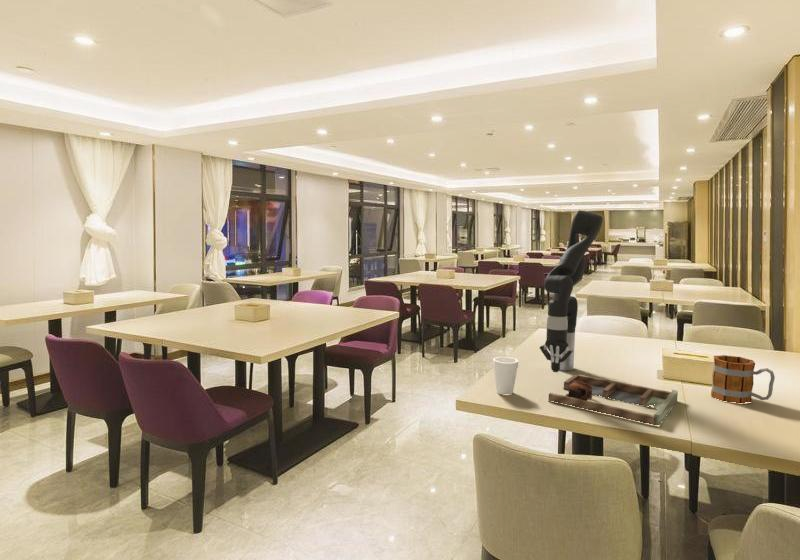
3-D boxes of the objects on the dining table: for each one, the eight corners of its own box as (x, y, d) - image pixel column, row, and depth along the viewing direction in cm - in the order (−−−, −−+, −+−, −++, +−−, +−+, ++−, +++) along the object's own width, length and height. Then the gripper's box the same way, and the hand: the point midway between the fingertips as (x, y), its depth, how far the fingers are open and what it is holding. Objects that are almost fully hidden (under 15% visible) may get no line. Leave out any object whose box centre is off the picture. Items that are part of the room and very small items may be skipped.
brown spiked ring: (558, 398, 185) (565, 378, 187) (579, 408, 186) (586, 387, 188) (577, 401, 173) (584, 379, 175) (599, 411, 175) (605, 389, 177)
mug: (703, 397, 186) (706, 358, 184) (717, 390, 194) (720, 353, 193) (766, 412, 170) (769, 370, 169) (777, 404, 179) (781, 364, 177)
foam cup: (502, 398, 183) (503, 364, 182) (487, 390, 191) (488, 358, 190) (522, 394, 187) (523, 361, 186) (506, 387, 196) (507, 355, 194)
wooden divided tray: (546, 401, 180) (546, 390, 180) (575, 380, 205) (576, 371, 204) (658, 427, 157) (659, 415, 156) (677, 401, 181) (677, 390, 181)
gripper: (577, 328, 184) (576, 372, 186) (544, 323, 193) (542, 366, 194) (571, 331, 178) (569, 377, 180) (536, 326, 187) (535, 370, 188)
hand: (555, 371), depth 187 cm, fingers closed
